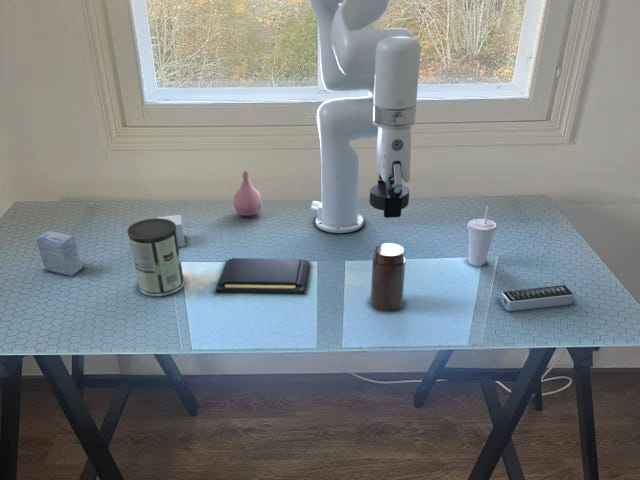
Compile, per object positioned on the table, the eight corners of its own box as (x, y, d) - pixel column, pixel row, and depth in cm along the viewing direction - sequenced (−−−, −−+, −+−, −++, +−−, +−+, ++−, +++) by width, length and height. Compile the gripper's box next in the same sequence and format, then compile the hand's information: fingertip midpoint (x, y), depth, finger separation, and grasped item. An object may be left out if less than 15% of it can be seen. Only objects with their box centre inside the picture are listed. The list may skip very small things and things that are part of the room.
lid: (395, 192, 129) (396, 180, 127) (415, 206, 123) (416, 193, 122) (362, 199, 127) (363, 186, 125) (381, 213, 121) (382, 200, 119)
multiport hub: (572, 304, 136) (575, 294, 135) (508, 311, 134) (509, 302, 133) (562, 293, 140) (564, 284, 138) (499, 300, 138) (501, 291, 136)
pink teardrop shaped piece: (238, 208, 181) (234, 166, 174) (264, 209, 180) (262, 167, 173) (232, 220, 175) (227, 177, 168) (259, 221, 174) (256, 177, 167)
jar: (364, 305, 138) (366, 251, 130) (380, 292, 142) (383, 239, 134) (392, 315, 134) (395, 260, 127) (408, 301, 139) (412, 247, 131)
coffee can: (153, 271, 152) (142, 215, 144) (192, 277, 149) (184, 221, 141) (129, 293, 144) (117, 234, 136) (170, 299, 141) (160, 240, 133)
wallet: (310, 256, 152) (303, 288, 140) (310, 263, 154) (303, 295, 141) (227, 253, 154) (213, 285, 142) (227, 260, 156) (214, 292, 143)
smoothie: (491, 269, 149) (500, 212, 141) (462, 267, 150) (470, 210, 142) (490, 256, 154) (499, 201, 146) (462, 255, 155) (470, 199, 147)
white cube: (161, 249, 162) (157, 226, 158) (160, 239, 166) (156, 217, 163) (185, 246, 162) (181, 224, 159) (183, 236, 167) (180, 214, 164)
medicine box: (83, 268, 154) (74, 235, 149) (70, 277, 151) (61, 243, 146) (57, 262, 157) (48, 229, 152) (44, 271, 154) (35, 237, 148)
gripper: (425, 128, 108) (416, 226, 119) (405, 100, 122) (399, 189, 133) (381, 130, 108) (376, 228, 118) (366, 101, 122) (363, 191, 132)
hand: (388, 207), depth 125 cm, fingers closed on lid, 7 cm apart
